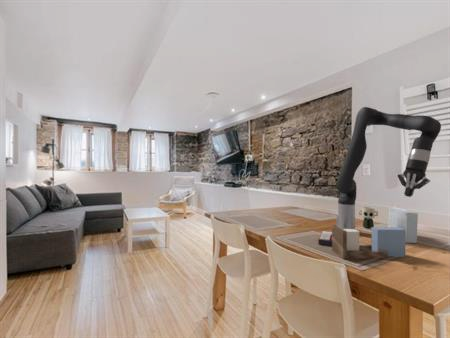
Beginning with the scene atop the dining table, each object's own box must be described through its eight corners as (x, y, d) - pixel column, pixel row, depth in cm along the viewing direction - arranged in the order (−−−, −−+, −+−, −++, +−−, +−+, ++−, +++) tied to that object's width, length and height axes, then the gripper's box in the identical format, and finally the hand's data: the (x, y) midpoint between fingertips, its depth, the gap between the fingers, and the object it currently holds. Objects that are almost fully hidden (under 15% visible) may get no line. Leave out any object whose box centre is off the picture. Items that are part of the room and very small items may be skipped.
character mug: (358, 227, 156) (358, 208, 156) (358, 225, 162) (358, 206, 162) (378, 229, 151) (378, 209, 151) (377, 227, 157) (377, 207, 157)
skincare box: (418, 243, 123) (418, 213, 123) (406, 243, 124) (406, 212, 124) (397, 233, 144) (397, 206, 144) (387, 232, 145) (387, 206, 145)
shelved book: (354, 252, 110) (354, 229, 110) (359, 256, 105) (359, 231, 105) (339, 252, 110) (339, 228, 110) (343, 256, 105) (343, 231, 105)
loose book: (398, 253, 109) (398, 227, 109) (405, 257, 105) (405, 229, 105) (371, 253, 110) (371, 227, 109) (377, 256, 105) (377, 229, 105)
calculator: (318, 238, 122) (321, 230, 135) (318, 246, 122) (321, 237, 135) (342, 241, 117) (343, 232, 130) (342, 249, 117) (343, 240, 130)
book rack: (374, 250, 113) (374, 225, 113) (389, 259, 102) (389, 231, 102) (332, 250, 113) (332, 225, 113) (343, 259, 102) (343, 231, 102)
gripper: (398, 157, 114) (388, 191, 115) (431, 160, 102) (420, 199, 103) (406, 160, 117) (397, 194, 118) (439, 163, 106) (428, 201, 106)
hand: (407, 196), depth 111 cm, fingers closed
